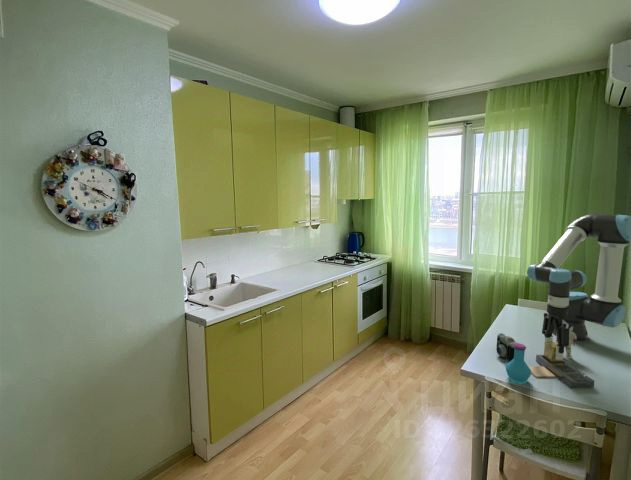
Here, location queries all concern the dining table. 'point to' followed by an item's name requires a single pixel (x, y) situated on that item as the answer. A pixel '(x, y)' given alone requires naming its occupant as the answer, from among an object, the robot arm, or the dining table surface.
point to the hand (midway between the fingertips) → (553, 355)
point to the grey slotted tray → (567, 373)
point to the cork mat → (541, 372)
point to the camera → (505, 346)
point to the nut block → (551, 352)
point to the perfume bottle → (518, 366)
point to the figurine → (570, 342)
